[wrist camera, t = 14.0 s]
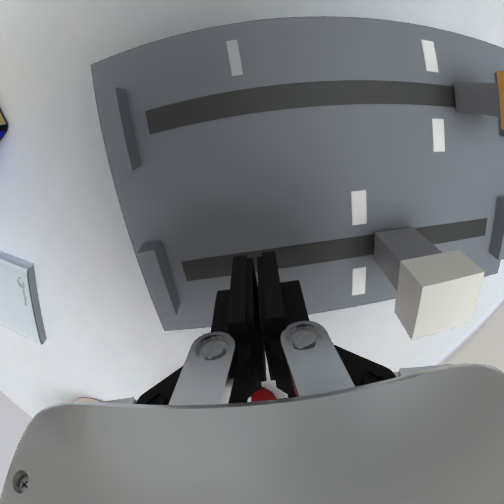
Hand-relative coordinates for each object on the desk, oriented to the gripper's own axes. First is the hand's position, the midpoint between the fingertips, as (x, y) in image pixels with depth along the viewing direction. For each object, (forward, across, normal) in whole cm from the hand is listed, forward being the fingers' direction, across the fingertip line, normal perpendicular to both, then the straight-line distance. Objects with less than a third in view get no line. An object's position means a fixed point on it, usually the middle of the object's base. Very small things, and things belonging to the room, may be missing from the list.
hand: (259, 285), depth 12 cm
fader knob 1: (+4, -7, +1) cm, 8 cm away
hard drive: (+6, +24, +1) cm, 25 cm away
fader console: (+6, -5, -3) cm, 8 cm away
